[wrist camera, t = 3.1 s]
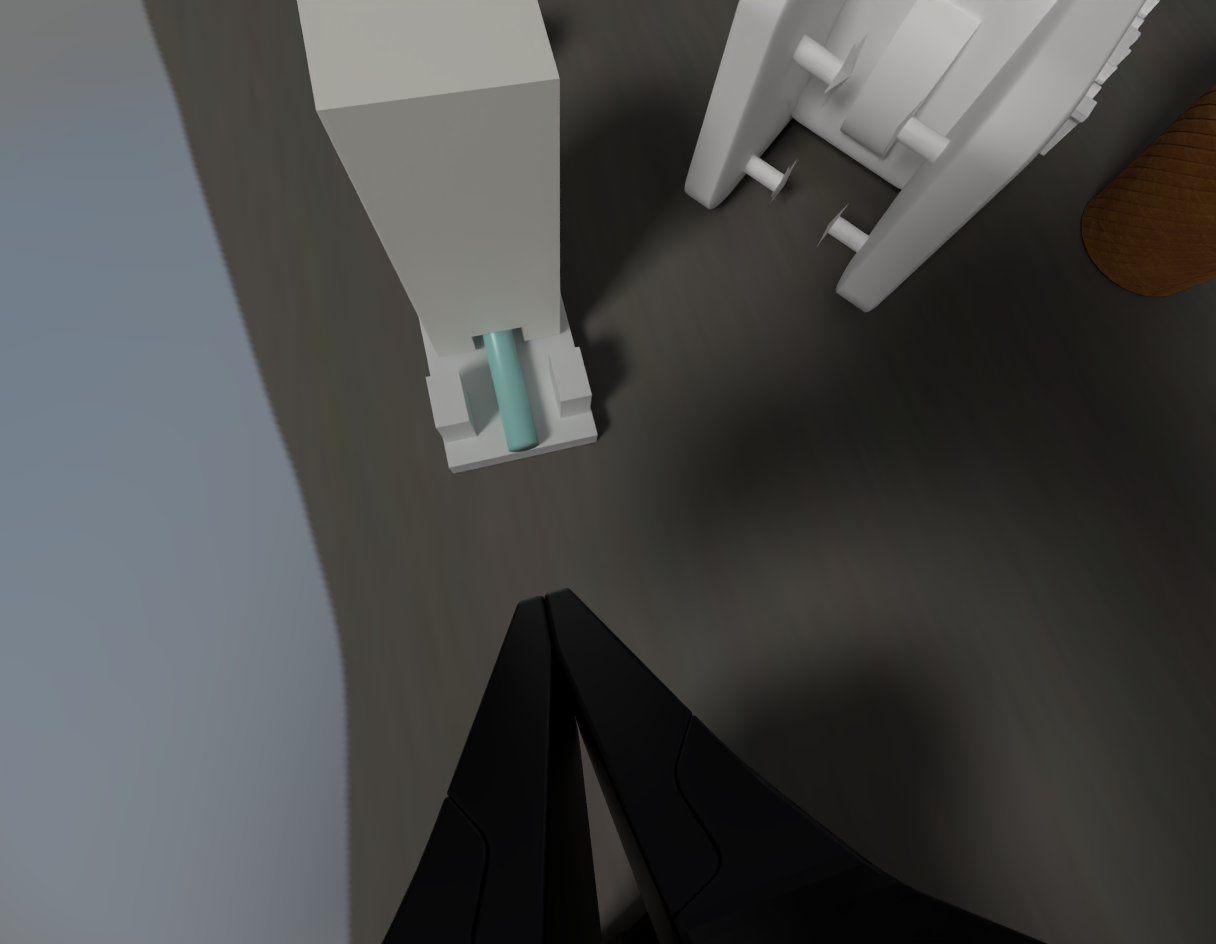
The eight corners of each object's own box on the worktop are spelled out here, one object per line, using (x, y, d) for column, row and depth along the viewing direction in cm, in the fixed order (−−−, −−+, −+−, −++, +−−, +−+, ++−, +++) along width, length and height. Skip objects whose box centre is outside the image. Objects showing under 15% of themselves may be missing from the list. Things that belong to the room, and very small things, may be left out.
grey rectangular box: (560, 333, 23) (559, 78, 12) (438, 357, 23) (316, 110, 11) (533, 230, 24) (509, -97, 13) (416, 249, 24) (283, -77, 12)
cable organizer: (828, 29, 30) (989, -316, 19) (996, 137, 29) (1268, -153, 18) (669, 216, 27) (750, -69, 15) (855, 344, 26) (1082, 145, 15)
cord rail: (596, 441, 24) (605, 400, 19) (453, 473, 23) (425, 438, 18) (480, -6, 29) (463, -131, 24) (359, 7, 28) (317, -119, 23)
